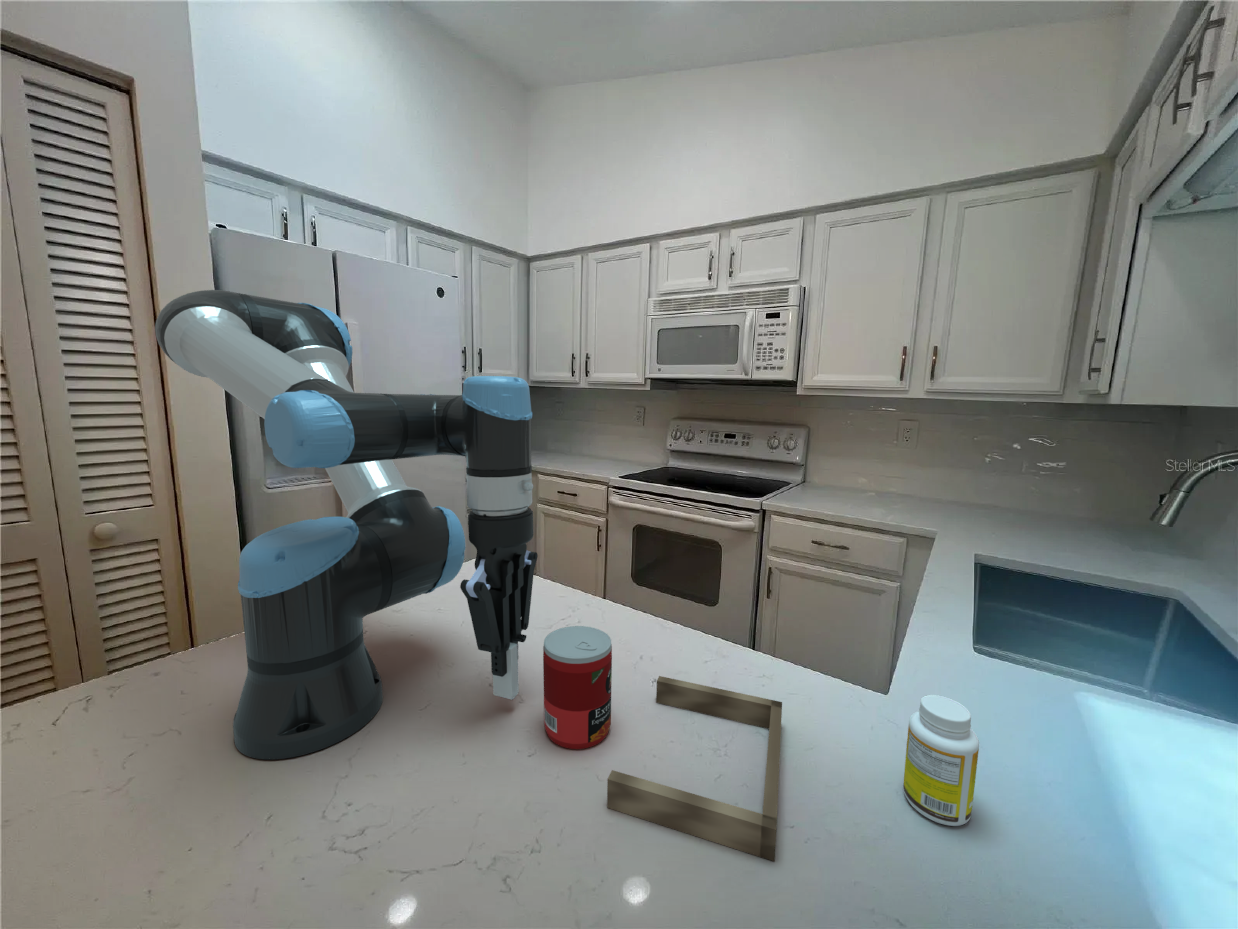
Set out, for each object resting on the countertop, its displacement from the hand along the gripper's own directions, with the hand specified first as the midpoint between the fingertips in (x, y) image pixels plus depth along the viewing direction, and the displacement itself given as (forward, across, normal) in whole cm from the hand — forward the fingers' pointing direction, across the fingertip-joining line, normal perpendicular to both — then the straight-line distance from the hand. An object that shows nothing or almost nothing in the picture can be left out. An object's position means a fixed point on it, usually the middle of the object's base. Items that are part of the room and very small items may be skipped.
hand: (506, 693), depth 60 cm
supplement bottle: (+3, +3, -47) cm, 47 cm away
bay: (+2, 0, -26) cm, 26 cm away
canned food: (+2, 0, -10) cm, 10 cm away
